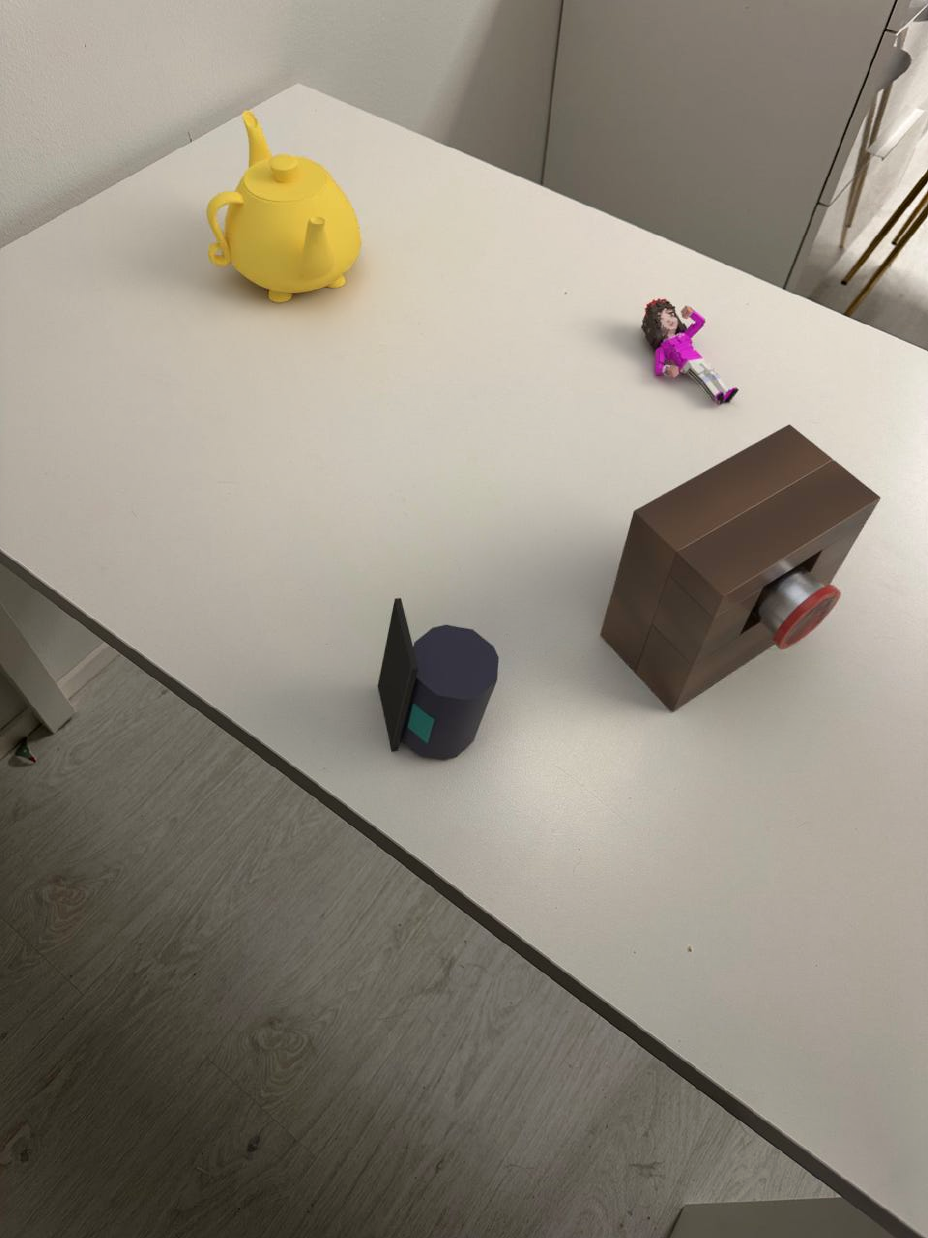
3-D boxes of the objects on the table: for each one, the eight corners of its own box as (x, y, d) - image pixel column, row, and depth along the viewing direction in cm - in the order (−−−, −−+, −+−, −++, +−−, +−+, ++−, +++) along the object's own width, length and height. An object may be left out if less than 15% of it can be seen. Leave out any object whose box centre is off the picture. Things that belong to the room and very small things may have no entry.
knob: (823, 624, 64) (852, 578, 59) (769, 661, 62) (795, 616, 57) (780, 585, 65) (805, 537, 61) (726, 619, 64) (748, 572, 59)
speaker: (362, 755, 64) (372, 670, 55) (377, 684, 67) (388, 595, 59) (473, 774, 64) (498, 693, 56) (482, 703, 68) (507, 617, 59)
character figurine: (741, 402, 87) (663, 316, 91) (761, 362, 82) (677, 274, 86) (693, 425, 85) (615, 337, 89) (710, 386, 80) (628, 295, 85)
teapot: (186, 236, 97) (160, 124, 87) (322, 204, 101) (311, 93, 91) (249, 354, 87) (227, 242, 77) (397, 313, 91) (394, 202, 81)
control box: (808, 621, 72) (881, 497, 60) (672, 713, 67) (723, 596, 55) (734, 553, 75) (789, 423, 64) (599, 634, 70) (633, 510, 59)
